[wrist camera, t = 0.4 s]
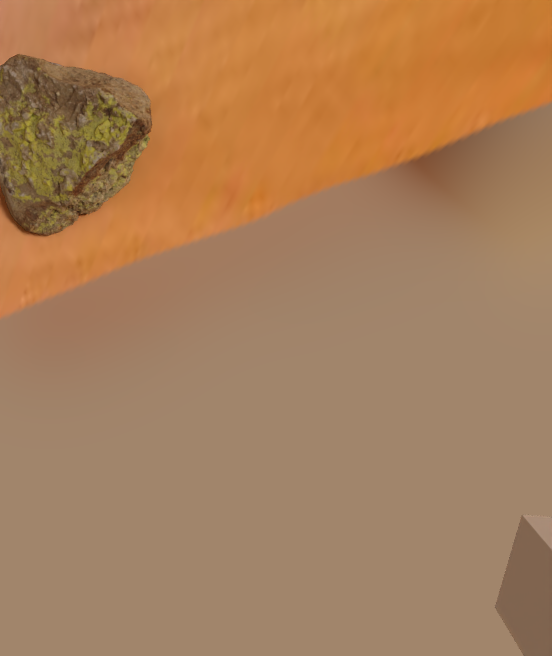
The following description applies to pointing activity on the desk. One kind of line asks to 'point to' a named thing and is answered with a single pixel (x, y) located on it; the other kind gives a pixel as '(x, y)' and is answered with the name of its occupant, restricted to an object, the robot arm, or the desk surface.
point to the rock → (66, 140)
